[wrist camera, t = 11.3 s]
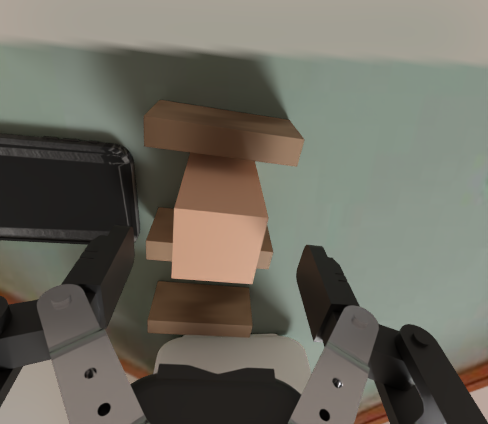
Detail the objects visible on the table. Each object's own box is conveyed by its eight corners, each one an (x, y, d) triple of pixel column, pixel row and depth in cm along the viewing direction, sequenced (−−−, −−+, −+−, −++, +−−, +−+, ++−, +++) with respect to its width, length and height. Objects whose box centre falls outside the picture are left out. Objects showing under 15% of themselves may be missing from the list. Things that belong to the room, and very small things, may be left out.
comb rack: (289, 119, 18) (304, 139, 15) (246, 298, 27) (249, 337, 23) (159, 99, 17) (143, 116, 14) (157, 293, 25) (147, 333, 22)
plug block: (252, 153, 19) (268, 218, 12) (243, 204, 21) (252, 284, 14) (192, 145, 19) (174, 208, 12) (188, 198, 21) (171, 278, 14)
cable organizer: (309, 329, 30) (351, 476, 20) (292, 383, 35) (319, 519, 25) (161, 330, 28) (128, 488, 18) (168, 386, 34) (146, 531, 24)
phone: (138, 246, 22) (-82, 236, 20) (142, 238, 23) (-68, 227, 21) (129, 147, 18) (-150, 123, 16) (133, 141, 19) (-129, 118, 17)
